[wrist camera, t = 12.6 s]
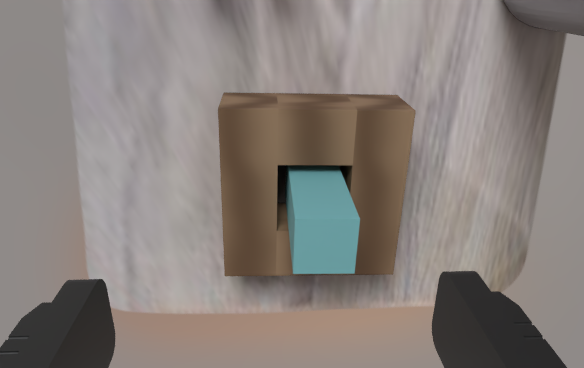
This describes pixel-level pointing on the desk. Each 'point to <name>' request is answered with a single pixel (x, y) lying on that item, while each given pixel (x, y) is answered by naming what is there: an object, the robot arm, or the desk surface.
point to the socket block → (310, 151)
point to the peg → (320, 220)
